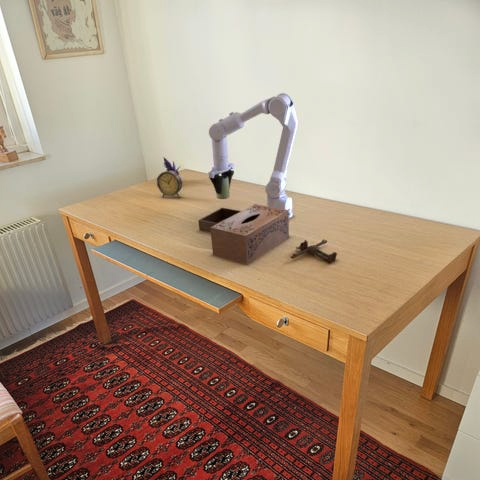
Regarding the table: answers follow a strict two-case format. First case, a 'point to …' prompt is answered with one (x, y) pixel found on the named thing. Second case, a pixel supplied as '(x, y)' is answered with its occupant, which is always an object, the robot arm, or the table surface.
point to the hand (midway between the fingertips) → (222, 191)
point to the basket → (215, 218)
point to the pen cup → (224, 188)
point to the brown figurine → (315, 251)
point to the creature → (170, 167)
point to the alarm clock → (169, 182)
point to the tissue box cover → (250, 233)
